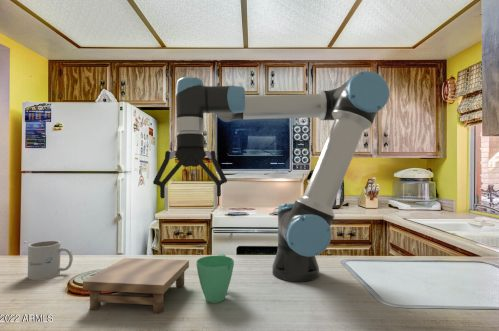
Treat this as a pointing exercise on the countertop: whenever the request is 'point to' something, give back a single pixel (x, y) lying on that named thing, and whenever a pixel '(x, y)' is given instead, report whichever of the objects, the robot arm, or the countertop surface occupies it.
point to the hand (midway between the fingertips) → (191, 209)
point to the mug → (46, 259)
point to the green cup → (215, 276)
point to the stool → (136, 281)
